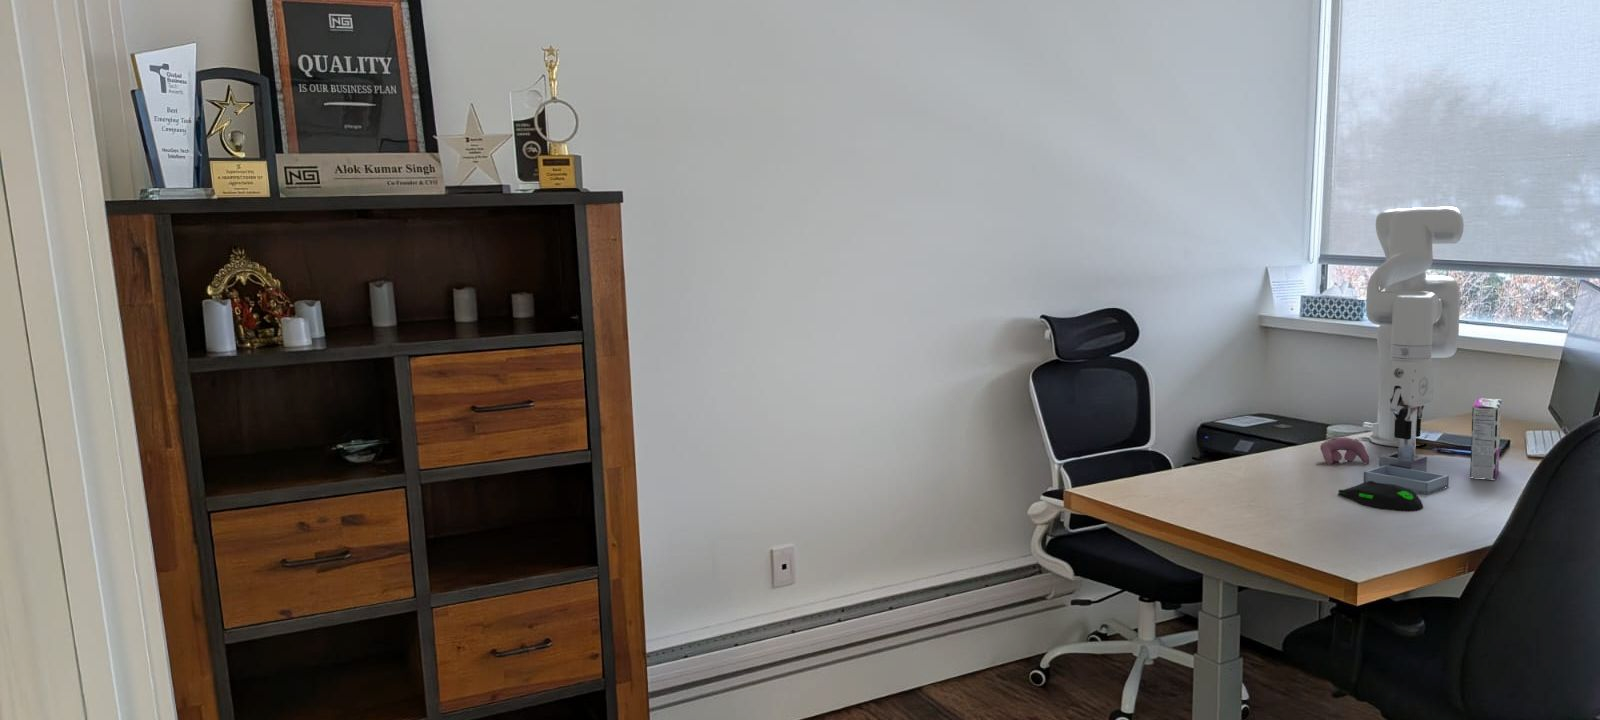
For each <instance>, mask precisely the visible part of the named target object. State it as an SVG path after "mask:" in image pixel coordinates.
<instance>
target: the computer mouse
mask: <svg viewBox="0 0 1600 720" xmlns="http://www.w3.org/2000/svg"><path fill="white" fill-rule="evenodd" d="M1417 494H1418V493H1416V492H1413V491H1411V490H1410V489H1407V488H1404V487H1401V486H1397V485H1394V484H1382V483H1375V482H1374V481H1368V482H1367V483H1360V484H1356V485H1354V486H1351V487H1349V488H1348V487H1347V488H1345V489H1339V490H1338V494H1337V495H1338V496H1339V497H1342V498H1344V499H1347V500H1351V502H1352V501H1353V502H1355V503H1357V504H1358V505H1360V506H1363V507H1368V508H1370V509H1376V510H1381V511H1382V510H1384V511H1393V512H1411V511H1412V512H1418V510H1419V511H1421V510H1423V508H1424V505H1423V502H1422V500H1421V499H1420V497H1419V496H1418V495H1417Z"/></svg>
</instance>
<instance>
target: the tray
mask: <svg viewBox="0 0 1600 720" xmlns="http://www.w3.org/2000/svg"><path fill="white" fill-rule="evenodd" d="M1449 477H1450V476H1449V475H1448V474H1441V473H1436V472H1435V473H1434V472H1430V471H1426V472H1424V471H1418V470H1412V469H1406V468H1400V467H1394V466H1388V465H1384V466H1381V467H1379V466H1378V467H1374V468H1372V469H1368V470H1365V471H1363V480H1362V481H1363V483H1367V482H1368V481H1374V482H1375V483H1382V484H1394V485H1397V486H1401V487H1404V488H1407V489H1410V490H1411V491H1413V492H1414V493H1416V492H1419V493H1418V494H1421V493H1423V494H1422V495H1426V494H1427V495H1430V494H1432V492H1433V493H1435V492H1434V491H1436V492H1438V491H1437V490H1439V491H1440V489H1441V490H1444V489H1446V488H1445V487H1447V488H1449V481H1450V479H1449ZM1443 488H1444V489H1443ZM1429 493H1430V494H1429Z"/></svg>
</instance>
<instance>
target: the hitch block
mask: <svg viewBox="0 0 1600 720" xmlns="http://www.w3.org/2000/svg"><path fill="white" fill-rule="evenodd" d="M1427 462H1428V457H1427V456H1424V455H1418V454H1415V461H1413V462H1405V461H1400V460H1398V451H1393V452H1390V453H1387V454H1386V453H1385V454H1382V455H1378V467H1381V466H1384V465H1388V466H1394V467H1400V468H1406V469H1412V470H1418V471H1424V472H1427V465H1428V463H1427Z"/></svg>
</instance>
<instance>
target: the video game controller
mask: <svg viewBox="0 0 1600 720" xmlns="http://www.w3.org/2000/svg"><path fill="white" fill-rule="evenodd" d="M1319 448H1320V451H1321V454H1322V456H1323V460H1324V461H1325V463H1326V464H1327V465H1329V466H1331V465H1332V464H1333V462H1334V463H1338V462H1340V461H1341V460H1342V459H1343V455H1342V453H1341V452H1340V451H1345V453H1344V460H1345V461H1346V462H1349V463H1351V462H1354V461H1355V460H1356V457H1358V458H1359V459H1360V461H1362V462H1363V464H1365V465H1368V464H1369V463H1370V456H1369V454H1368V452H1367V450H1366V449H1367V448H1366V447H1365V445H1364V444H1363V442H1361V441H1360V440H1359V439H1358V438H1355V439H1354V438H1349V437H1345V436H1344V437H1333V438H1330V439H1327V440H1325V441H1324V442H1322V443H1321V444H1320V447H1319Z"/></svg>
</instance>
